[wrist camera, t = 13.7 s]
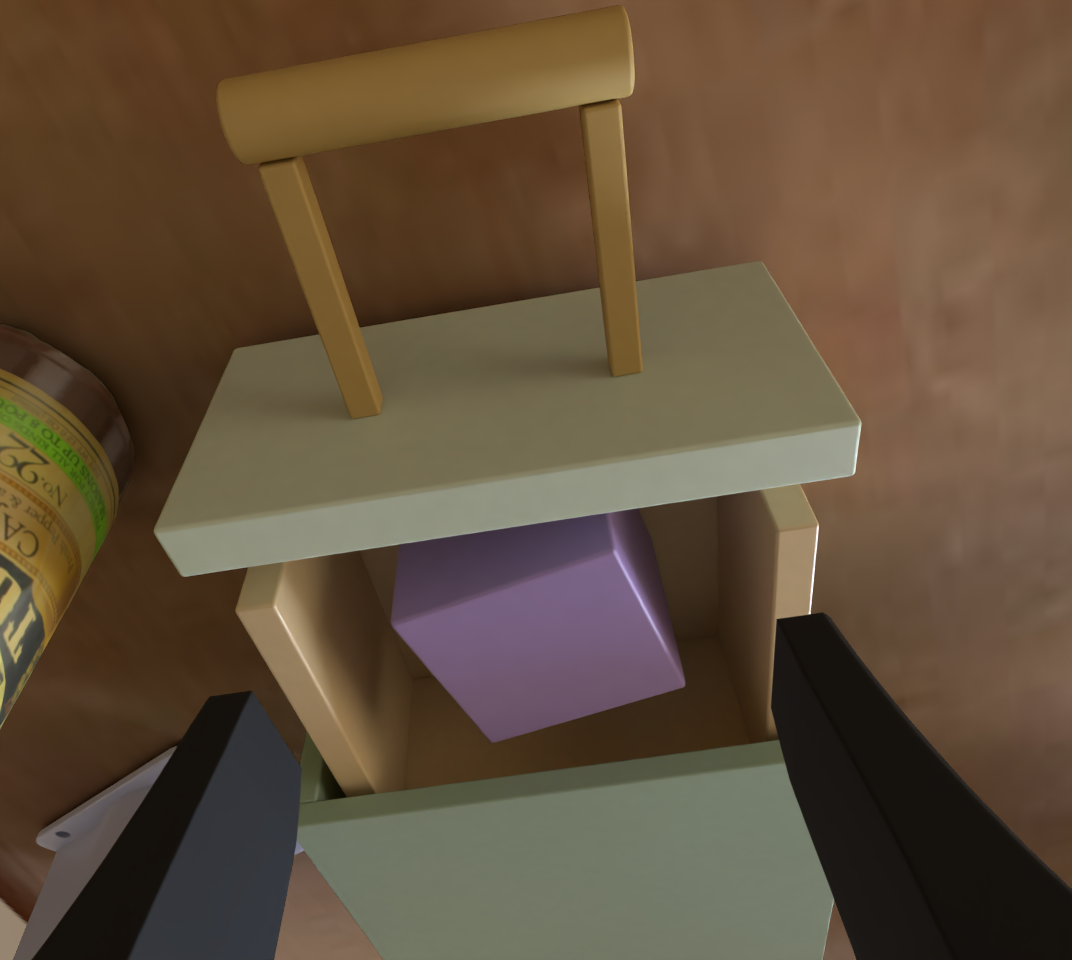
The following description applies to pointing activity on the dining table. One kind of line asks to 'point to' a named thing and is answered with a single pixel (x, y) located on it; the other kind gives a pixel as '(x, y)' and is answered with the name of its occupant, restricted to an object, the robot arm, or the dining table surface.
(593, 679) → the block
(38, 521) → the sauce bottle
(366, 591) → the drawer
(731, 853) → the cabinet
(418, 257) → the dining table surface
